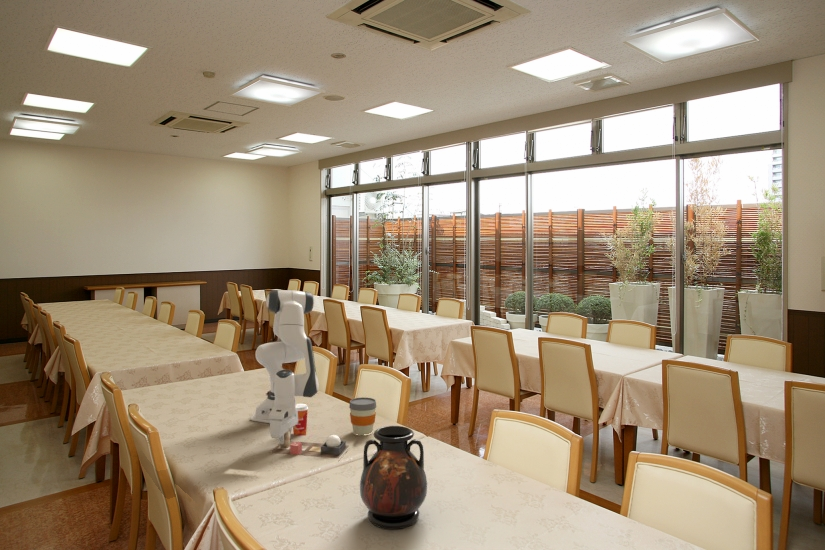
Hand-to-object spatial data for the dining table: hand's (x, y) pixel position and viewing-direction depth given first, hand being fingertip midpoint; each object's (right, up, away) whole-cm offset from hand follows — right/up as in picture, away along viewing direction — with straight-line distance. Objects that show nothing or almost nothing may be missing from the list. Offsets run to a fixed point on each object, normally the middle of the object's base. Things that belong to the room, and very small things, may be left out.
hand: (285, 441), depth 227 cm
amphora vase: (+48, -7, -56) cm, 74 cm away
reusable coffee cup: (+31, -3, +23) cm, 39 cm away
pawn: (0, -2, 0) cm, 2 cm away
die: (+6, -3, -6) cm, 9 cm away
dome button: (+21, -2, -4) cm, 22 cm away
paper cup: (+3, -3, +18) cm, 18 cm away
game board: (+11, -4, -2) cm, 12 cm away
